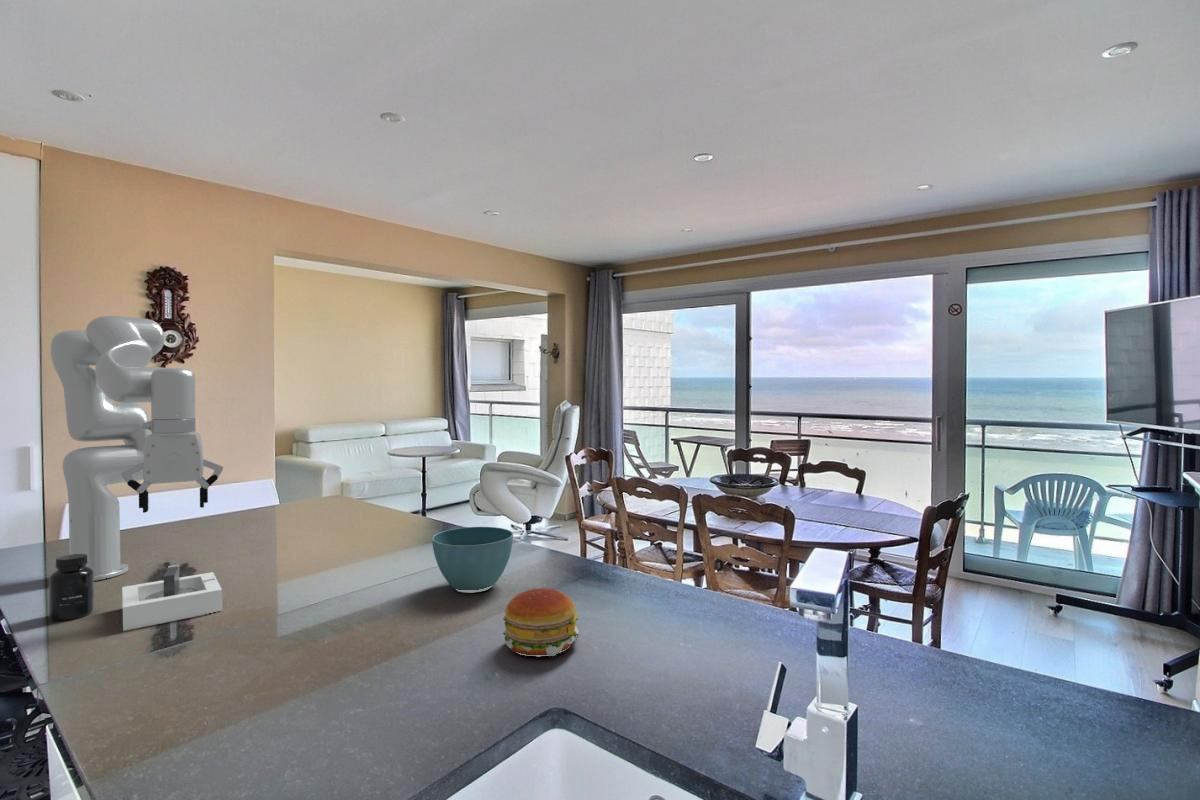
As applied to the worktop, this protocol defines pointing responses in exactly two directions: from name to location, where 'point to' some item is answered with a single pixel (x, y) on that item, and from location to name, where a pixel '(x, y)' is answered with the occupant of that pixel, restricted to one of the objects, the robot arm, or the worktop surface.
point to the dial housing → (170, 601)
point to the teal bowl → (472, 555)
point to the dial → (171, 584)
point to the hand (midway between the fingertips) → (174, 508)
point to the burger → (540, 622)
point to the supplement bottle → (71, 588)
